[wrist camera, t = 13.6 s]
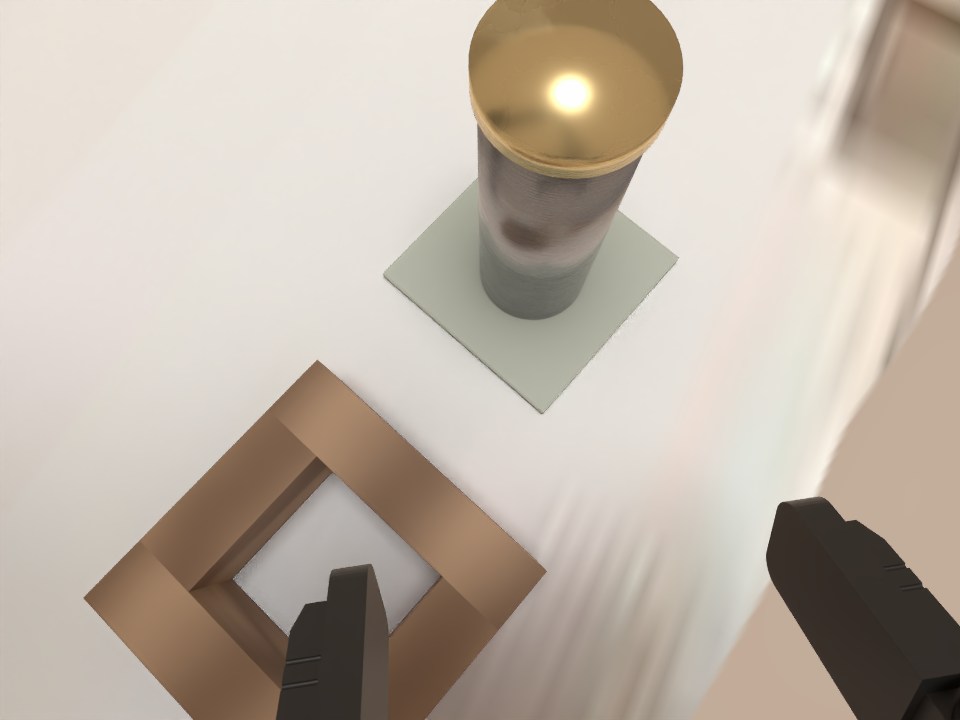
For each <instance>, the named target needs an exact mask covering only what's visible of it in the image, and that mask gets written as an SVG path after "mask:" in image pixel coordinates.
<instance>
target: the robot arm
mask: <svg viewBox="0 0 960 720" xmlns="http://www.w3.org/2000/svg"><path fill="white" fill-rule="evenodd" d="M766 561H767V567H768V571H769V574H770V577H771V580H772V582H773V584H774V585H775V587H776V589H777V590H778V592H779V594H780V595H781V597H782V598H783V600H784V602H785V603H786V605H787V607H788V608H789V610H790V611H791V613H792V615H793V616H794V618H795V619H796V621H797V623H798V624H799V626H800V627H801V629H802V631H803V632H804V634H805V636H806V637H807V639H808V640H809V642H810V644H811V645H812V647H813V648H814V650H815V652H816V653H817V655H818V656H819V658H820V660H821V661H822V663H823V665H824V666H825V668H826V669H827V671H828V672H829V674H830V676H831V677H832V679H833V681H834V682H835V684H836V686H837V687H838V689H839V690H840V692H841V694H842V695H843V697H844V698H845V700H846V702H847V703H848V705H849V706H850V708H851V710H852V711H853V713H854V714H855V716H856V718H857V719H858V720H960V626H959V625H958V624H957V622H956V621H955V620H954V619H953V618H952V617H951V616H950V614H949V613H948V612H947V611H946V610H945V609H944V607H943V606H942V605H941V604H940V603H939V602H938V601H937V599H936V598H935V597H934V596H933V595H932V594H931V593H930V591H929V590H928V589H927V588H924V587H923V586H922V582H921V581H920V580H919V579H918V577H917V576H916V575H915V574H914V573H913V572H912V571H911V569H910V568H906V566H905V562H904V561H903V560H902V559H901V558H900V557H899V556H898V554H897V553H896V552H895V551H894V550H893V549H892V548H891V546H890V545H889V544H888V543H887V542H886V541H885V539H883V538H882V537H880V536H879V535H877V534H876V533H874V532H873V531H871V530H870V529H868V528H867V527H866V526H864V525H863V524H861V523H860V522H858V521H857V520H853V521H847V522H845V521H844V519H843V518H842V517H841V516H840V514H839V513H838V512H837V511H836V510H835V508H834V507H833V506H832V505H831V504H830V503H829V501H827V500H826V499H824V498H822V497H813V498H806V499H800V500H793V501H787V502H782V503H780V504H779V506H778V508H777V511H776V515H775V519H774V523H773V528H772V532H771V536H770V540H769V544H768V548H767V553H766ZM285 661H286V666H284V672H283V678H282V684H281V685H282V690H281V691H280V696H279V703H278V709H277V715H276V720H388V666H389V637H388V625H387V618H386V612H385V609H384V605H383V601H382V598H381V594H380V591H379V587H378V584H377V580H376V577H375V573H374V569H373V567H372V565H371V564H366V565H360V566H353V567H347V568H340V569H334V570H332V571H331V574H330V578H329V587H328V596H327V601H322V602H316V603H309V604H305V606H304V608H303V609H302V611H301V613H300V615H299V617H298V618H297V620H296V622H295V624H294V625H293V627H292V629H291V631H290V635H289V641H288V648H287V654H286V660H285Z"/></svg>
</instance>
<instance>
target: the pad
mask: <svg viewBox="0 0 960 720" xmlns="http://www.w3.org/2000/svg"><path fill="white" fill-rule="evenodd" d="M678 259H679V257H678V256H676V255H675V254H674V253H672V252H671V251H670V250H669V249H667V248H666V247H665V246H664V245H662V244H661V243H660V242H658V241H657V240H656V239H655V238H653V237H652V236H651V235H649V234H648V233H647V232H646V231H644V230H643V229H642V228H640V227H639V226H638V225H637V224H635V223H634V222H633V221H631V220H630V219H629V218H628V217H626V216H625V215H624V214H623V213H621V212H620V211H619V210H617V212H616V214H615V216H614V219H613V221H612V223H611V225H610V227H609V230H608V232H607V234H606V236H605V239H604V241H603V243H602V245H601V247H600V250H599V252H598V254H597V256H596V258H595V261H594V263H593V265H592V267H591V269H590V272H589V274H588V276H587V278H586V280H585V283H584V285H583V287H582V289H581V291H580V293H579V295H578V297H577V298H576V300H575V301H574V302H573V303H572V304H571V305H570V306H569V307H568V308H567V309H566V310H564V311H563V312H561V313H559V314H557V315H555V316H553V317H550V318H546V319H541V320H525V319H520V318H516V317H513V316H511V315H509V314H507V313H505V312H503V311H502V310H500V309H499V308H498V307H497V306H496V305H495V304H494V303H493V302H492V301H491V300H490V299H489V297H488V296H487V294H486V293H485V291H484V288H483V286H482V283H481V279H480V261H479V195H478V178H477V179H476V180H475V181H474V182H473V183H472V184H471V185H470V186H469V187H468V188H467V189H466V190H465V191H464V192H463V193H462V194H461V195H460V196H459V197H458V198H457V199H456V200H455V201H454V202H453V203H452V204H451V205H450V206H449V207H448V208H447V209H446V210H445V211H444V212H443V213H442V214H441V215H440V216H439V217H438V218H437V219H436V220H435V221H434V222H433V223H432V224H431V225H430V226H429V227H428V228H427V229H426V230H425V231H424V232H423V233H422V235H421V236H420V237H419V238H418V239H417V240H416V241H415V242H414V243H413V244H412V245H411V246H410V247H409V248H408V249H407V250H406V251H405V252H404V253H403V254H402V255H401V256H400V257H399V258H398V259H397V260H396V261H395V262H394V263H393V264H392V265H391V266H390V267H389V268H388V269H387V270H386V271H385V272H384V273H383V275H384V277H385V278H386V279H387V280H388V281H390V282H391V283H392V284H393V285H394V286H395V287H396V288H398V289H399V290H400V291H401V292H402V293H403V294H405V295H406V296H407V297H408V298H409V299H410V300H411V301H413V302H414V303H415V304H416V305H417V306H418V307H419V308H421V309H422V310H423V311H424V312H425V313H426V314H427V315H429V316H430V317H431V318H432V319H433V320H434V321H436V322H437V323H438V324H439V325H440V326H441V327H442V328H444V329H445V330H446V331H447V332H448V333H449V334H450V335H452V336H453V337H454V338H455V339H456V340H457V341H459V342H460V343H461V344H462V345H463V346H464V347H465V348H467V349H468V350H469V351H470V352H471V353H472V354H473V355H475V356H476V357H477V358H478V359H479V360H480V361H482V362H483V363H484V364H485V365H486V366H487V367H488V368H490V369H491V370H492V371H493V372H494V373H495V374H496V375H498V376H499V377H500V378H501V379H502V380H503V381H504V382H506V383H507V384H508V385H509V386H510V387H511V388H513V389H514V390H515V391H516V392H517V393H518V394H519V395H521V396H522V397H523V398H524V399H525V400H526V401H527V402H529V403H530V404H531V405H532V406H533V407H534V408H536V409H537V410H538V411H539V412H540V413H541V414H543V413H544V412H545V411H546V409H547V408H548V407H549V406H550V405H551V404H552V403H553V401H554V400H555V399H556V398H557V397H558V396H559V395H560V393H561V392H562V391H563V390H564V389H565V388H566V387H567V385H568V384H569V383H570V382H571V381H572V380H573V379H574V377H575V376H576V375H577V374H578V373H579V372H580V371H581V369H582V368H583V367H584V366H585V365H586V364H587V363H588V362H589V360H590V359H591V358H592V357H593V356H594V355H595V354H596V352H597V351H598V350H599V349H600V348H601V347H602V346H603V344H604V343H605V342H606V341H607V340H608V339H609V338H610V336H611V335H612V334H613V333H614V332H615V331H616V330H617V328H618V327H619V326H620V325H621V324H622V323H623V322H624V320H625V319H626V318H627V317H628V316H629V315H630V314H631V313H632V311H633V310H634V309H635V308H636V307H637V306H638V305H639V303H640V302H641V301H642V300H643V299H644V298H645V297H646V295H647V294H648V293H649V292H650V291H651V290H652V289H653V287H654V286H655V285H656V284H657V283H658V282H659V281H660V279H661V278H662V277H663V276H664V275H665V274H666V273H667V272H668V270H669V269H670V268H671V267H672V266H673V265H674V264H675V262H676V261H677V260H678Z"/></svg>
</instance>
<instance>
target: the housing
mask: <svg viewBox="0 0 960 720" xmlns="http://www.w3.org/2000/svg"><path fill="white" fill-rule="evenodd" d="M332 472H334V473H335V474H336V475H337V476H338V477H339V478H340V479H341V480H342V481H343V482H344V483H345V484H346V485H347V486H348V487H349V488H350V489H351V490H352V491H354V492H355V493H356V494H357V495H358V496H359V497H360V498H361V499H362V500H363V501H364V502H365V503H366V504H367V505H368V506H369V507H370V508H371V509H372V510H373V511H374V512H375V513H376V514H378V515H379V516H380V517H381V518H382V519H383V520H384V521H385V522H386V523H387V524H388V525H389V526H390V527H391V528H392V529H393V530H394V531H395V532H396V533H397V534H398V535H399V536H400V537H402V538H403V539H404V540H405V541H406V542H407V543H408V544H409V545H410V546H411V547H412V548H413V549H414V550H415V551H416V552H417V553H418V554H419V555H420V556H421V557H422V558H423V559H425V560H426V561H427V562H428V563H429V564H430V565H431V566H432V567H433V568H434V569H435V570H436V571H437V572H438V573H439V574H440V575H441V576H440V578H439V579H438V580H437V581H436V582H435V583H434V585H433V586H432V587H431V588H430V589H429V590H428V592H427V593H426V594H425V595H424V596H423V597H422V598H421V600H420V601H419V602H418V603H417V604H416V605H415V607H414V608H413V609H412V610H411V611H410V612H409V614H408V615H407V616H406V617H405V618H404V619H403V620H402V622H401V623H400V624H399V625H398V626H397V627H396V629H395V630H394V631H393V632H392V633H391V634H390V636H389V666H388V720H424V719H425V718H426V717H427V716H428V714H429V713H430V712H431V711H432V710H433V708H434V707H435V706H436V705H437V703H438V702H439V701H440V700H441V699H442V697H443V696H444V695H445V694H446V693H447V691H448V690H449V689H450V688H451V687H452V685H453V684H454V683H455V682H456V680H457V679H458V678H459V677H460V676H461V674H462V673H463V672H464V671H465V670H466V668H467V667H468V666H469V665H470V664H471V662H472V661H473V660H474V659H475V658H476V656H477V655H478V654H479V653H480V651H481V650H482V649H483V648H484V647H485V645H486V644H487V643H488V642H489V641H490V639H491V638H492V637H493V636H494V635H495V633H496V632H497V631H498V630H499V629H500V627H501V626H502V625H503V624H504V622H505V621H506V620H507V619H508V618H509V616H510V615H511V614H512V613H513V612H514V610H515V609H516V608H517V607H518V606H519V604H520V603H521V602H522V601H523V600H524V598H525V597H526V596H527V595H528V593H529V592H530V591H531V590H532V589H533V587H534V586H535V585H536V584H537V583H538V581H539V580H540V579H541V578H542V577H543V575H544V574H545V573H546V572H547V571H546V570H545V569H544V568H543V567H542V566H541V565H540V564H539V563H538V562H537V561H536V560H535V559H534V558H533V557H532V556H531V555H530V554H529V553H528V552H526V551H525V550H524V549H523V548H522V547H521V546H520V545H519V544H518V543H517V542H516V541H515V540H513V539H512V538H511V537H510V536H509V535H508V534H507V533H506V532H505V531H504V530H503V529H502V528H500V527H499V526H498V525H497V524H496V523H495V522H494V521H493V520H492V519H491V518H490V517H489V516H487V515H486V514H485V513H484V512H483V511H482V510H481V509H480V508H479V507H478V506H477V505H476V504H474V503H473V502H472V501H471V500H470V499H469V498H468V497H467V496H466V495H465V494H464V493H462V492H461V491H460V490H459V489H458V488H457V487H456V486H455V485H454V484H453V483H452V482H451V481H449V480H448V479H447V478H446V477H445V476H444V475H443V474H442V473H441V472H440V471H439V470H438V469H436V468H435V467H434V466H433V465H432V464H431V463H430V462H429V461H428V460H427V459H426V458H425V457H423V456H422V455H421V454H420V453H419V452H418V451H417V450H416V449H415V448H414V447H413V446H411V445H410V444H409V443H408V442H407V441H406V440H405V439H404V438H403V437H402V436H401V435H400V434H398V433H397V432H396V431H395V430H394V429H393V428H392V427H391V426H390V425H389V424H388V423H387V422H385V421H384V420H383V419H382V418H381V417H380V416H379V415H378V414H377V413H376V412H375V411H374V410H372V409H371V408H370V407H369V406H368V405H367V404H366V403H365V402H364V401H363V400H362V399H361V398H359V397H358V396H357V395H356V394H355V393H354V392H353V391H352V390H351V389H350V388H349V387H347V386H346V385H345V384H344V383H343V382H342V381H341V380H340V379H339V378H338V377H336V376H335V375H334V374H333V373H332V372H331V371H330V370H329V369H327V368H326V367H325V366H324V365H323V364H322V363H321V362H319V361H318V360H317V361H316V362H315V363H314V364H313V365H312V366H311V367H310V368H309V369H308V370H307V371H306V372H305V373H304V374H303V375H302V376H301V377H300V378H299V379H298V380H297V381H296V382H295V383H294V384H293V385H292V386H291V387H290V388H289V389H288V390H287V391H286V392H285V393H284V394H283V395H282V396H281V397H280V398H279V399H278V400H277V401H276V402H275V403H274V404H273V405H272V406H271V407H270V408H269V409H268V410H267V411H266V412H265V414H264V415H263V416H262V417H261V418H260V419H259V420H258V421H257V422H256V423H255V424H254V425H253V426H252V427H251V428H250V429H249V430H248V431H247V432H246V433H245V434H244V435H243V436H242V437H241V438H240V439H239V440H238V441H237V442H236V443H235V444H234V445H233V446H232V447H231V448H230V449H229V450H228V451H227V452H226V453H225V454H224V455H223V456H222V457H221V458H220V459H219V460H218V461H217V462H216V463H215V464H214V465H213V466H212V467H211V468H210V470H209V471H208V472H207V473H206V474H205V475H204V476H203V477H202V478H201V479H200V480H199V481H198V482H197V483H196V484H195V485H194V486H193V487H192V488H191V489H190V490H189V491H188V492H187V493H186V494H185V495H184V496H183V497H182V498H181V499H180V500H179V501H178V502H177V503H176V504H175V505H174V506H173V507H172V508H171V509H170V510H169V511H168V512H167V513H166V514H165V515H164V516H163V517H162V518H161V519H160V520H159V521H158V522H157V523H156V524H155V526H154V527H153V528H152V529H151V530H150V531H149V532H148V533H147V534H146V535H145V536H144V537H143V538H142V539H141V540H140V541H139V542H138V543H137V544H136V545H135V546H134V547H133V548H132V549H131V550H130V551H129V552H128V553H127V554H126V555H125V556H124V557H123V558H122V559H121V560H120V561H119V562H118V563H117V564H116V565H115V566H114V567H113V568H112V569H111V570H110V571H109V572H108V573H107V574H106V575H105V576H104V577H103V578H102V579H101V581H100V582H99V583H98V584H97V585H96V586H95V587H94V588H93V589H92V590H91V591H90V592H89V593H88V594H87V595H86V596H85V597H84V599H85V600H86V601H87V603H88V604H89V605H90V606H91V607H92V608H93V609H94V610H95V611H96V612H97V614H98V615H99V616H100V617H101V618H102V619H103V620H104V621H105V622H106V624H107V625H108V626H109V627H110V628H111V629H112V630H113V631H114V632H115V633H116V635H117V636H118V637H119V638H120V639H121V640H122V641H123V642H124V643H125V645H126V646H127V647H128V648H129V649H130V650H131V651H132V652H133V653H134V654H135V656H136V657H137V658H138V659H139V660H140V661H141V662H142V663H143V664H144V666H145V667H146V668H147V669H148V670H149V671H150V672H151V673H152V674H153V675H154V677H155V678H156V679H157V680H158V681H159V682H160V683H161V684H162V685H163V687H164V688H165V689H166V690H167V691H168V692H169V693H170V694H171V695H172V696H173V698H174V699H175V700H176V701H177V702H178V703H179V704H180V705H181V706H182V708H183V709H184V710H185V711H186V712H187V713H188V714H189V715H190V716H191V717H192V719H193V720H276V715H277V709H278V703H279V696H280V691H281V690H282V685H281V684H282V678H283V672H284V666H286V661H285V660H286V654H287V648H288V641H289V638H288V637H287V636H286V635H285V634H284V633H283V632H282V630H281V629H280V628H279V627H278V626H277V625H276V624H275V623H274V622H273V621H272V620H271V619H270V618H269V617H268V616H267V615H266V614H265V613H264V612H263V611H262V610H261V609H260V608H259V607H258V606H257V605H256V604H255V603H254V601H253V600H252V599H251V598H250V597H249V596H248V595H247V594H246V593H245V592H244V591H243V590H242V589H241V588H240V587H239V586H238V585H237V584H236V583H235V582H234V581H233V580H232V578H233V577H234V576H235V575H236V574H237V573H238V572H239V571H240V570H241V569H242V568H243V567H244V566H245V565H246V564H247V562H248V561H249V560H250V559H251V558H252V557H253V556H254V555H255V554H256V553H257V552H258V551H259V550H260V549H261V547H262V546H263V545H264V544H265V543H266V542H267V541H268V540H269V539H270V538H271V537H272V536H273V535H274V534H275V533H276V531H277V530H278V529H279V528H280V527H281V526H282V525H283V524H284V523H285V522H286V521H287V520H288V519H289V518H290V517H291V515H292V514H293V513H294V512H295V511H296V510H297V509H298V508H299V507H300V506H301V505H302V504H303V503H304V502H305V500H306V499H307V498H308V497H309V496H310V495H311V494H312V493H313V492H314V491H315V490H316V489H317V488H318V487H319V486H320V484H321V483H322V482H323V481H324V480H325V479H326V478H327V477H328V476H329V475H330V474H331V473H332Z"/></svg>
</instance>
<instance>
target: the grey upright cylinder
mask: <svg viewBox="0 0 960 720" xmlns="http://www.w3.org/2000/svg"><path fill="white" fill-rule="evenodd" d="M682 76H683V60H682V53H681V48H680V44H679V42H678V39H677V36H676V34H675V32H674V30H673V28H672V26H671V25H670V23H669V21H668V20H667V19H666V17H665V16H664V15H663V13H662V12H661V11H660V10H659V9H658V8H657V7H656V6H655V5H654V4H653V3H652V2H651V1H650V0H497V1H496V2H495V3H494V4H493V5H492V6H491V7H490V8H489V9H488V10H487V12H486V13H485V14H484V16H483V17H482V19H481V20H480V22H479V24H478V26H477V28H476V30H475V32H474V35H473V38H472V41H471V45H470V51H469V93H470V100H471V106H472V109H473V113H474V116H475V118H476V120H477V129H478V195H479V261H480V279H481V283H482V286H483V288H484V291H485V293H486V294H487V296H488V297H489V299H490V300H491V301H492V302H493V303H494V304H495V305H496V306H497V307H498V308H499V309H500V310H502V311H503V312H505V313H507V314H509V315H511V316H513V317H516V318H520V319H525V320H541V319H546V318H550V317H553V316H555V315H557V314H559V313H561V312H563V311H564V310H566V309H567V308H568V307H569V306H570V305H571V304H572V303H573V302H574V301H575V300H576V298H577V297H578V295H579V293H580V291H581V289H582V287H583V285H584V283H585V280H586V278H587V276H588V274H589V272H590V269H591V267H592V265H593V263H594V261H595V258H596V256H597V254H598V252H599V250H600V247H601V245H602V243H603V241H604V239H605V236H606V234H607V232H608V230H609V227H610V225H611V223H612V221H613V219H614V216H615V214H616V212H617V210H618V208H619V205H620V203H621V201H622V199H623V197H624V194H625V192H626V190H627V188H628V186H629V183H630V181H631V179H632V177H633V175H634V172H635V170H636V168H637V166H638V164H639V161H640V159H641V157H642V155H643V153H644V152H645V151H646V150H647V149H648V148H649V147H650V146H651V145H652V144H653V142H654V141H655V140H656V139H657V137H658V136H659V134H660V132H661V131H662V129H663V127H664V125H665V123H666V121H667V119H668V117H669V115H670V112H671V110H672V108H673V106H674V104H675V102H676V99H677V97H678V94H679V92H680V87H681V83H682Z"/></svg>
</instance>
